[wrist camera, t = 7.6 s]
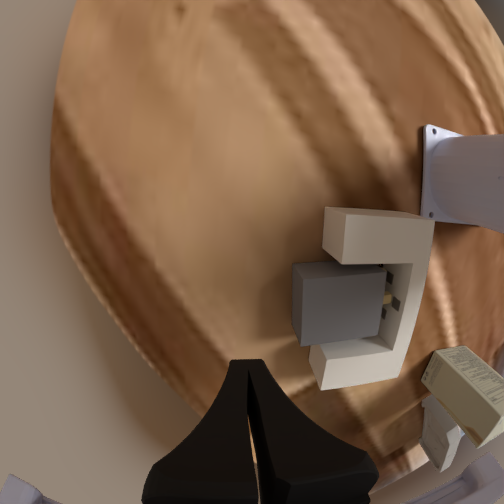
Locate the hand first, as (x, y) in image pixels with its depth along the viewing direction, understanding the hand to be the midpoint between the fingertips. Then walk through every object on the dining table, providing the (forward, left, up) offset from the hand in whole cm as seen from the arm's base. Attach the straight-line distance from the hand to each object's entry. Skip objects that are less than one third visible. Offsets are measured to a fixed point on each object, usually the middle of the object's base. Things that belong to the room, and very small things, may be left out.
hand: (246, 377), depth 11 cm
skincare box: (-23, +10, -10) cm, 28 cm away
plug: (-7, 0, -10) cm, 12 cm away
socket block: (-9, 0, -10) cm, 14 cm away
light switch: (-25, +21, -10) cm, 35 cm away
